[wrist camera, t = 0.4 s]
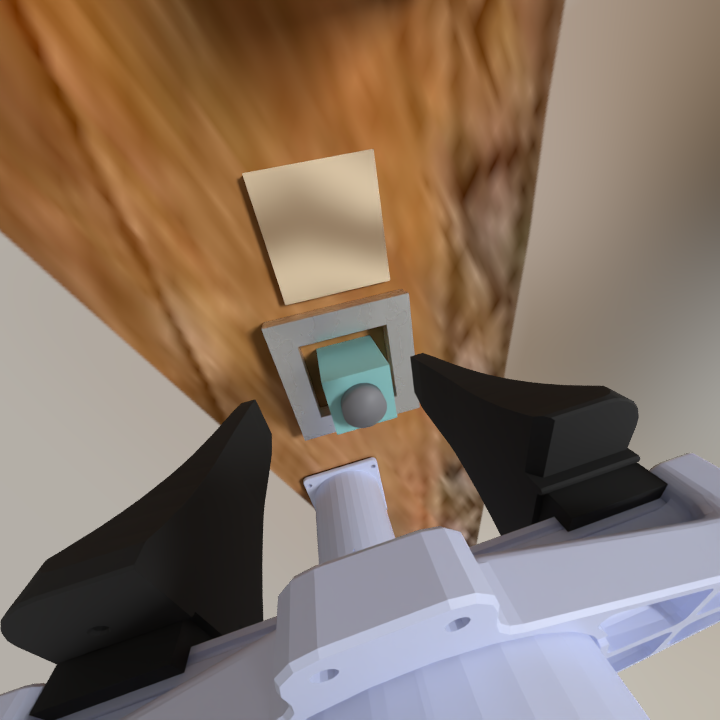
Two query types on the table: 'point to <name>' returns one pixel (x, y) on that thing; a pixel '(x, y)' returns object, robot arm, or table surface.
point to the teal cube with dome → (356, 384)
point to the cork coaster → (321, 224)
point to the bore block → (330, 324)
